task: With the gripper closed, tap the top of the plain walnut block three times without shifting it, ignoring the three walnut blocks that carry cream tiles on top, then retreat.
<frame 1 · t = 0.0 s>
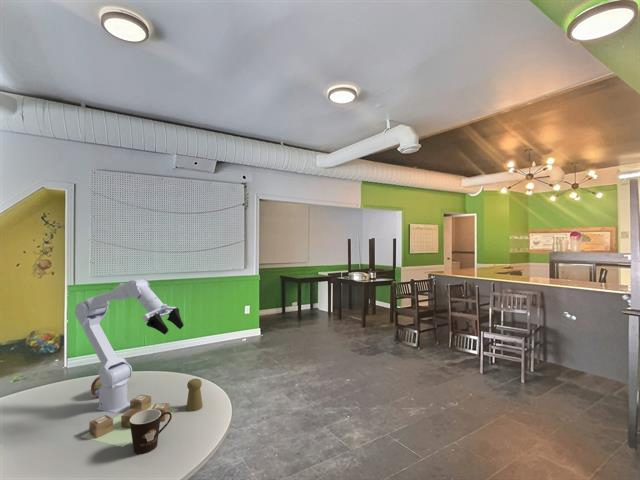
hand: (174, 329, 118), 32 cm above the table, tool tilted 50°, fingers open, 7 cm apart
coffee mug: (151, 448, 101), on the table
mat: (133, 423, 115), on the table
tile block a: (101, 432, 109), resting on mat
cork: (194, 409, 125), on the table
tile block b: (159, 417, 118), resting on mat
tile block c: (140, 408, 124), resting on mat
tin: (110, 392, 139), on the table
plain block: (133, 424, 114), resting on mat
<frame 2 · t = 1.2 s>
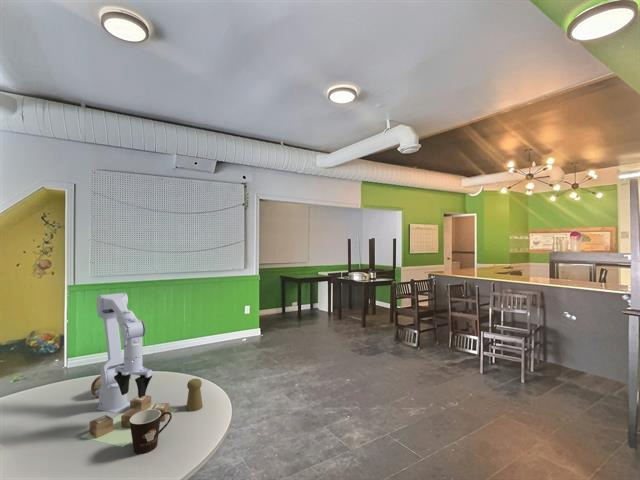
hand: (133, 395, 114), 10 cm above the table, tool pointing down, fingers open, 7 cm apart
nothing on the table moved.
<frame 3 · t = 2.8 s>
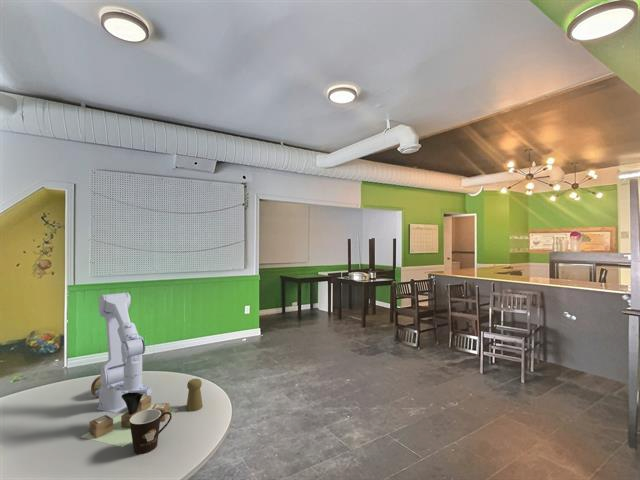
hand: (133, 412, 114), 4 cm above the table, tool pointing down, fingers closed, pressing on plain block
plain block: (133, 424, 114), resting on mat, touching gripper
everything else where it was.
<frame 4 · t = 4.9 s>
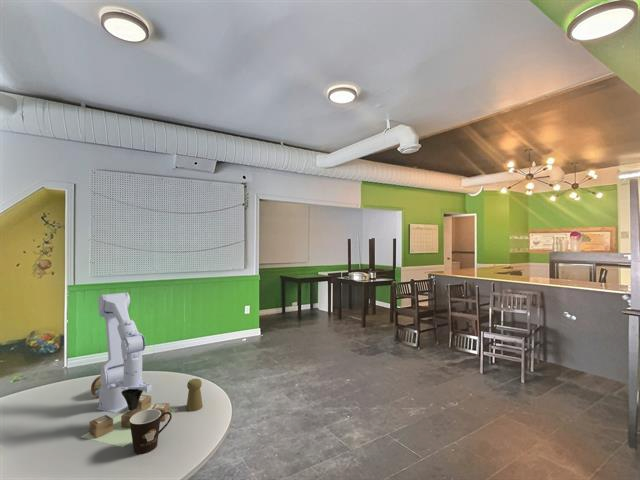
hand: (132, 409, 114), 6 cm above the table, tool pointing down, fingers closed
plain block: (133, 424, 114), resting on mat
everything else where it was.
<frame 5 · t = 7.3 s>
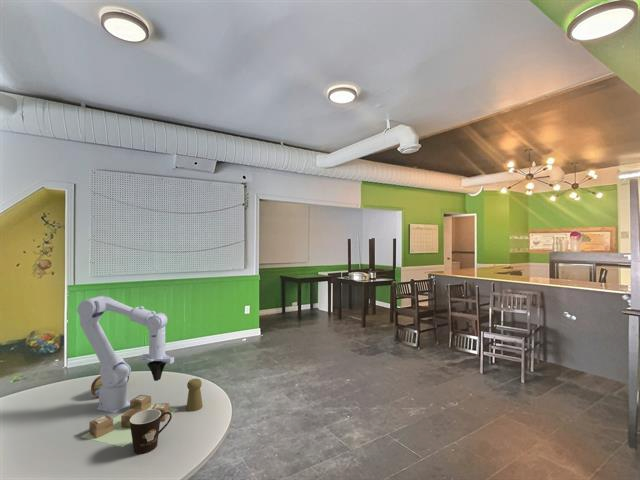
hand: (157, 379, 127), 10 cm above the table, tool pointing down, fingers closed
nothing on the table moved.
at the end: plain block moved 0.0 cm from its start; plain block tilted 0°; plain block resting on mat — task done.
